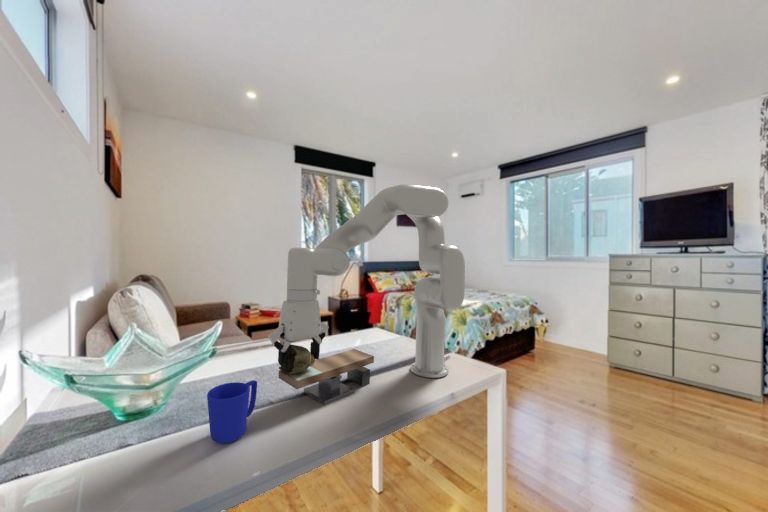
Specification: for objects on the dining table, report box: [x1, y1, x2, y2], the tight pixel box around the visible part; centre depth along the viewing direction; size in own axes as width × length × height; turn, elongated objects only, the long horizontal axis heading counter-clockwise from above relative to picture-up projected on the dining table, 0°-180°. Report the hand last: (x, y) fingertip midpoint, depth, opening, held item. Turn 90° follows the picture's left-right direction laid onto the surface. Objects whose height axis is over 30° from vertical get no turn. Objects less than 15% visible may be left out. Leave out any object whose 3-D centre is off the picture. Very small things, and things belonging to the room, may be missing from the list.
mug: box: [206, 379, 258, 444], centre depth 70 cm, size 8×12×10 cm
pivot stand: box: [303, 366, 371, 405], centre depth 92 cm, size 18×10×5 cm, turn 136°
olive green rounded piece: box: [278, 343, 316, 375], centre depth 82 cm, size 8×7×8 cm
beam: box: [278, 348, 375, 390], centre depth 89 cm, size 26×10×3 cm, turn 136°
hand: (299, 361), depth 82 cm, fingers closed on olive green rounded piece, 8 cm apart
